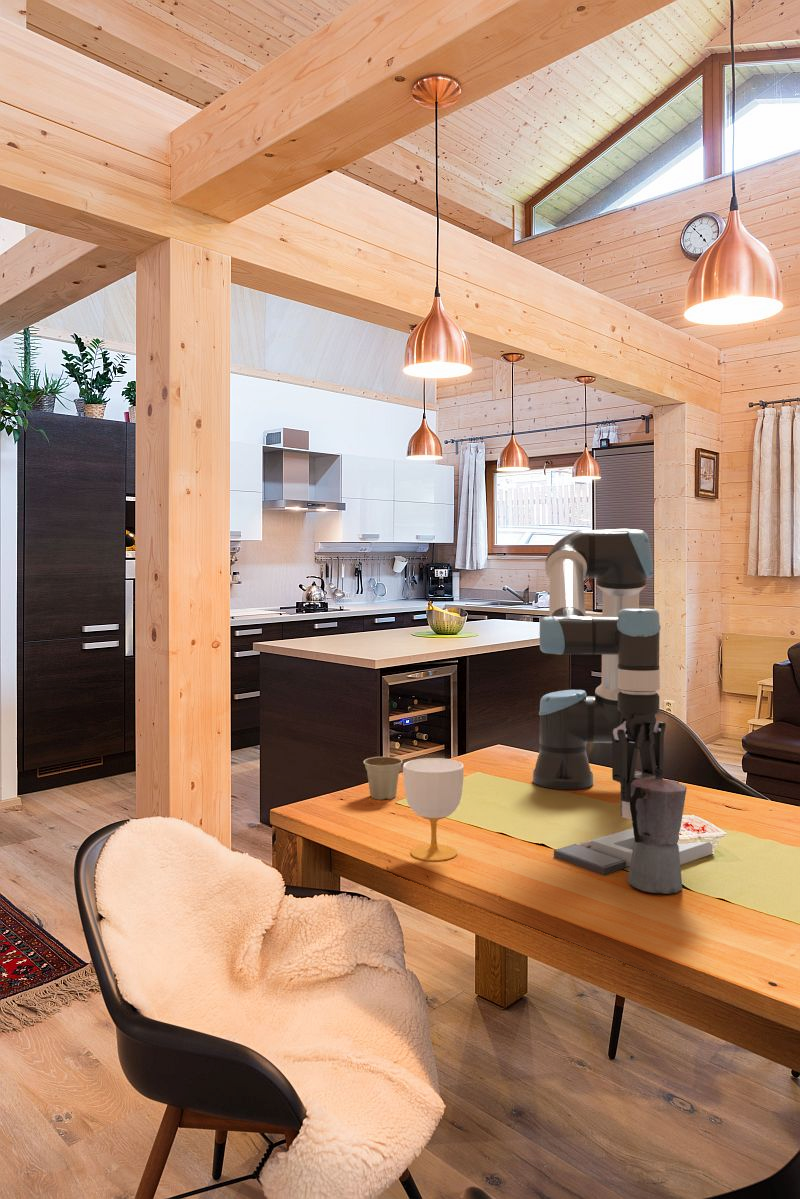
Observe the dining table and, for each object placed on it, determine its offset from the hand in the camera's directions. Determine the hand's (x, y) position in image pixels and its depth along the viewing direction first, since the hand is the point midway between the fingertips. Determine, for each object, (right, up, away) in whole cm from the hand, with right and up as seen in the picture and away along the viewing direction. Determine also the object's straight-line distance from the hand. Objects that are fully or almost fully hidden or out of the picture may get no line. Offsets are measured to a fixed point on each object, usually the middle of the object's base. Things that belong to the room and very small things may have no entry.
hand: (638, 815), depth 153 cm
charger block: (0, 0, 0) cm, 0 cm away
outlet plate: (+3, -8, +3) cm, 9 cm away
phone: (-10, -8, -2) cm, 13 cm away
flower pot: (-49, -7, +44) cm, 66 cm away
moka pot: (-1, -9, -14) cm, 16 cm away
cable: (-6, -8, +8) cm, 13 cm away
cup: (-38, -8, +4) cm, 39 cm away
